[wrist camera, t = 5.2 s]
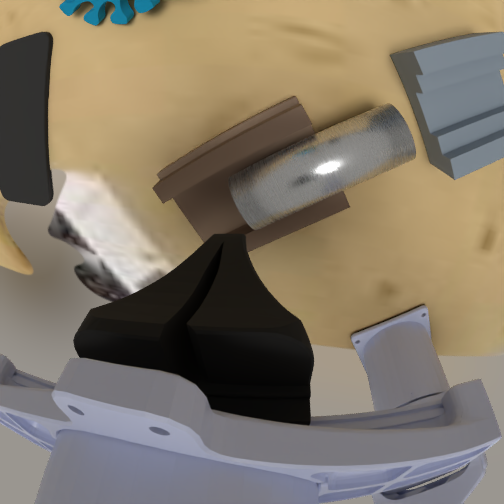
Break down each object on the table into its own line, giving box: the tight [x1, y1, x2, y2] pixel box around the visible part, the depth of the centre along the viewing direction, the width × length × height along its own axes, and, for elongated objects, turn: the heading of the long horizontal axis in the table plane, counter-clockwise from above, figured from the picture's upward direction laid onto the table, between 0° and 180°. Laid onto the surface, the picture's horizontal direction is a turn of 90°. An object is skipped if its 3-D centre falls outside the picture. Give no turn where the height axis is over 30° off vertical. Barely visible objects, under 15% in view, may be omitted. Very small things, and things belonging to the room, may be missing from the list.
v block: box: [390, 32, 504, 180], centre depth 13 cm, size 8×8×4 cm
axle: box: [228, 103, 416, 230], centre depth 16 cm, size 10×4×4 cm, turn 120°
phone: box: [0, 32, 54, 206], centre depth 17 cm, size 7×1×15 cm
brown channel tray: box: [153, 96, 350, 252], centre depth 18 cm, size 8×10×2 cm
